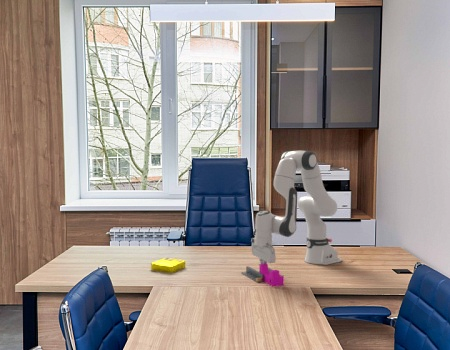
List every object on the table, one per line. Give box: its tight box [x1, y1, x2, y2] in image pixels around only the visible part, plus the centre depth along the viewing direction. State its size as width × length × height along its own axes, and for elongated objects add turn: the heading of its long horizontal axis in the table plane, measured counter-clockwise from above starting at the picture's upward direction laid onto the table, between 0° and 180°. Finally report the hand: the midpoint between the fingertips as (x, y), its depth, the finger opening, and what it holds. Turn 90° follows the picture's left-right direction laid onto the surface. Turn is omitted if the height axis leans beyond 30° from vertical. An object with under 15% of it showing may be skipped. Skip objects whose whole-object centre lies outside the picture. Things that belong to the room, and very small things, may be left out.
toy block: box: [258, 263, 285, 288], centre depth 241 cm, size 15×6×8 cm, turn 21°
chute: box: [240, 265, 284, 283], centre depth 251 cm, size 16×18×4 cm
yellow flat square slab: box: [150, 257, 186, 274], centre depth 266 cm, size 15×15×5 cm
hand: (263, 267), depth 250 cm, fingers closed
